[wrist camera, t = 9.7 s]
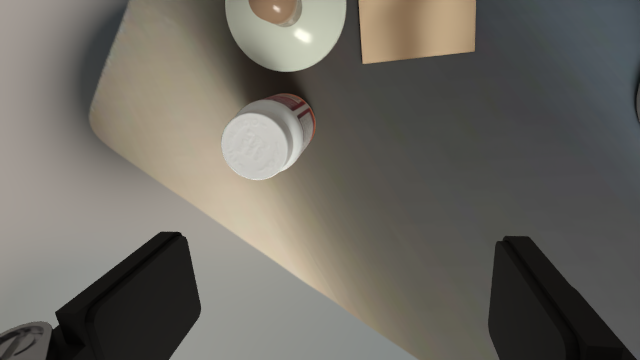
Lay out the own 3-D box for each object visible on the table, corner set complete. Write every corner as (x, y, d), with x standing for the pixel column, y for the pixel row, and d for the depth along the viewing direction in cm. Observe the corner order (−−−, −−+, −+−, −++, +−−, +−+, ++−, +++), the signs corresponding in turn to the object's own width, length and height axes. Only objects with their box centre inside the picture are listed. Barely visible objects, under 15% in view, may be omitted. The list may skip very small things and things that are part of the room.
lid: (340, -72, 27) (333, -103, 22) (351, 64, 30) (347, 64, 25) (218, -50, 28) (186, -75, 23) (240, 77, 31) (215, 79, 26)
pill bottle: (247, 115, 37) (196, 136, 26) (292, 80, 35) (258, 86, 24) (282, 162, 38) (247, 201, 27) (328, 130, 36) (311, 158, 25)
